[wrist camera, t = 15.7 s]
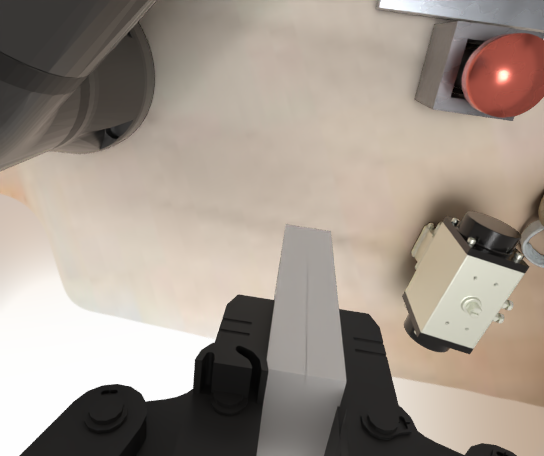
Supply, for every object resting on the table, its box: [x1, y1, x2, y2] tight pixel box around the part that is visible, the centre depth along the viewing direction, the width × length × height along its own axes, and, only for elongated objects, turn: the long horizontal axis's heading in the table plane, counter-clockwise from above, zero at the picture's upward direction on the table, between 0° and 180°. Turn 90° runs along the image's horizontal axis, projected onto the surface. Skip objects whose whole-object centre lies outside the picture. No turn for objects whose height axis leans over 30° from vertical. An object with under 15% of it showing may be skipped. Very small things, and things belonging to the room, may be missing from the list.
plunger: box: [454, 33, 544, 118], centre depth 30 cm, size 5×5×9 cm
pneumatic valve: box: [402, 211, 529, 354], centre depth 36 cm, size 6×12×12 cm, turn 163°
